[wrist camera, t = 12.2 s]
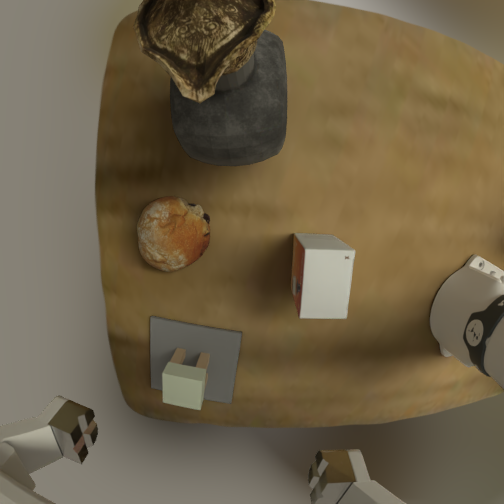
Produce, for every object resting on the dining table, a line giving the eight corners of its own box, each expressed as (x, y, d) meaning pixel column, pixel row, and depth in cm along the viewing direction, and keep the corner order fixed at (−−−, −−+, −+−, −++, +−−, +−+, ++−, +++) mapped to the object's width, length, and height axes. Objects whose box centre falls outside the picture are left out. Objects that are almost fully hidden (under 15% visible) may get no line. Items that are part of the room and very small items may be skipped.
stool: (210, 353, 44) (202, 381, 36) (208, 380, 45) (200, 410, 37) (176, 346, 44) (162, 373, 36) (175, 374, 45) (162, 402, 37)
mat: (242, 331, 43) (241, 333, 43) (231, 401, 46) (231, 403, 46) (151, 315, 43) (150, 317, 43) (152, 385, 46) (151, 387, 46)
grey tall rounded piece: (199, 173, 39) (56, 141, 10) (200, 48, 35) (125, -102, 6) (281, 171, 39) (337, 117, 9) (276, 45, 35) (293, -122, 5)
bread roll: (156, 200, 44) (116, 208, 37) (210, 187, 39) (169, 192, 32) (169, 263, 45) (132, 279, 39) (224, 259, 40) (187, 278, 34)
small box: (293, 232, 40) (304, 246, 30) (333, 234, 40) (356, 248, 30) (289, 288, 42) (297, 319, 31) (328, 289, 42) (347, 320, 31)
